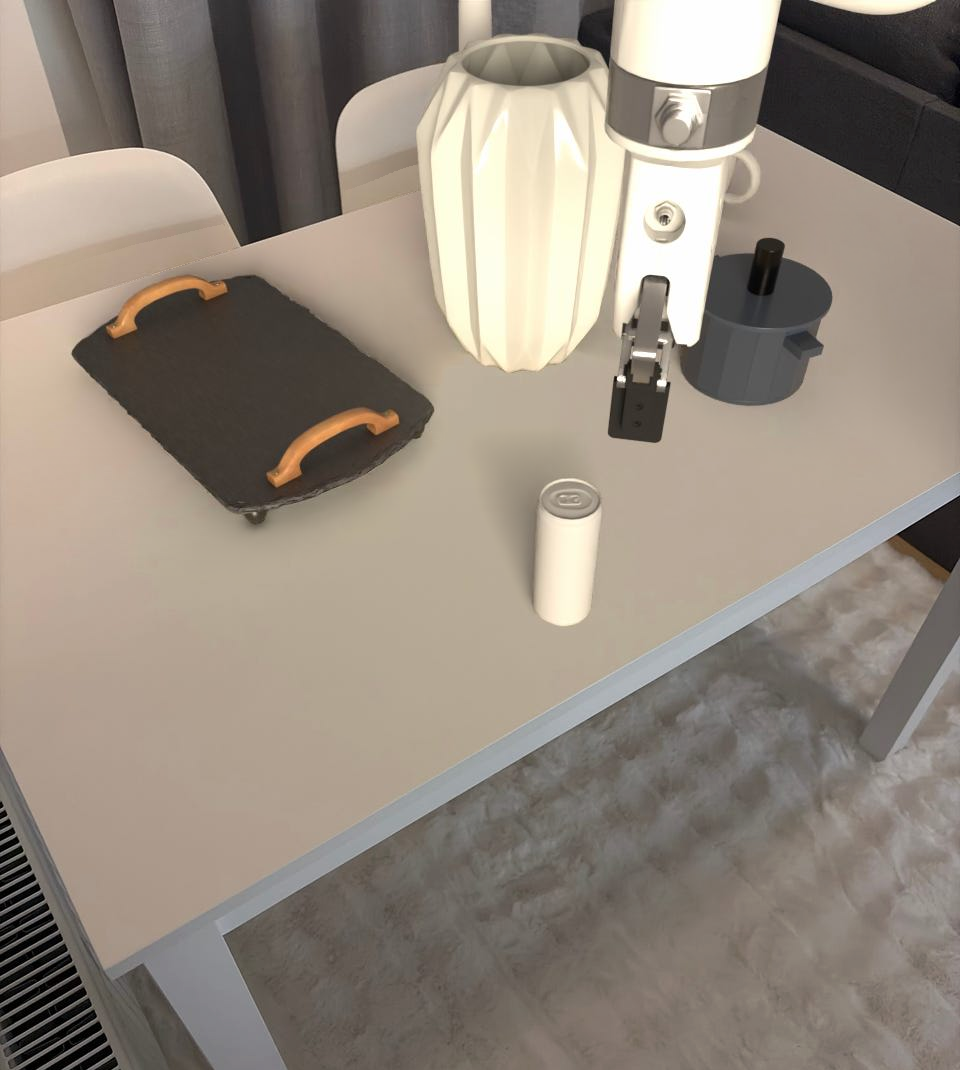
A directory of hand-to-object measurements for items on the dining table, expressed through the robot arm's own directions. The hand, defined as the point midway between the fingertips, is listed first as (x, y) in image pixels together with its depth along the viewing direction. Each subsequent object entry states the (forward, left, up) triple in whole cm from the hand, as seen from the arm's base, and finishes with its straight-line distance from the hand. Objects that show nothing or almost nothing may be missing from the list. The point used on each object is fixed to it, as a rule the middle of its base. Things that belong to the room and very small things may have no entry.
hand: (642, 389), depth 60 cm
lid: (-29, -25, -14) cm, 40 cm away
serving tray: (+19, -41, -22) cm, 50 cm away
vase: (-10, -39, -22) cm, 46 cm away
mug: (-44, -56, -22) cm, 74 cm away
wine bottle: (-13, -57, -22) cm, 62 cm away
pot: (-29, -25, -22) cm, 44 cm away
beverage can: (+3, -3, -22) cm, 23 cm away
